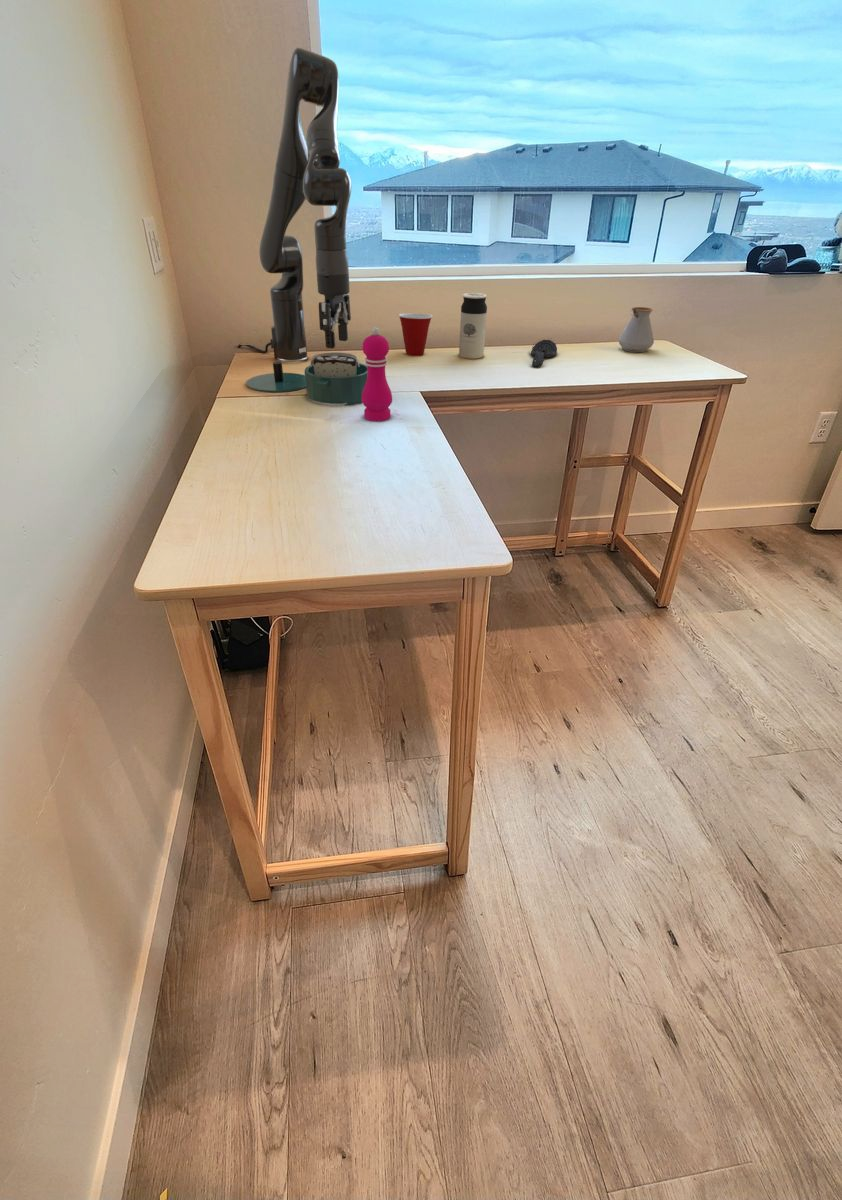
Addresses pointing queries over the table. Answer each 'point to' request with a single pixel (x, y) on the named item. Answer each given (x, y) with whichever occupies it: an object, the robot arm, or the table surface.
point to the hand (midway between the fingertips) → (337, 344)
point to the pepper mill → (376, 378)
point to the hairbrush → (543, 351)
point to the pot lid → (277, 381)
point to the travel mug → (473, 326)
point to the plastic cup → (415, 332)
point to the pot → (336, 387)
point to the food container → (335, 364)
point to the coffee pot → (638, 331)
